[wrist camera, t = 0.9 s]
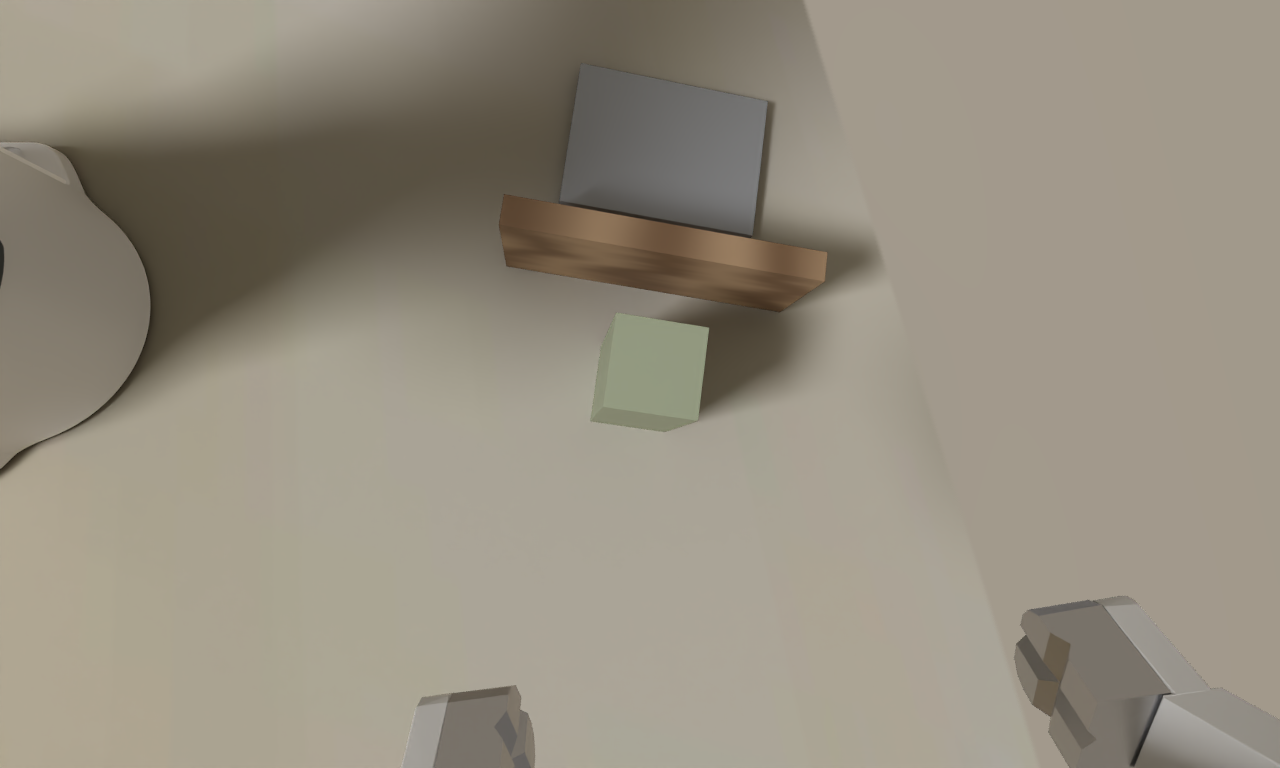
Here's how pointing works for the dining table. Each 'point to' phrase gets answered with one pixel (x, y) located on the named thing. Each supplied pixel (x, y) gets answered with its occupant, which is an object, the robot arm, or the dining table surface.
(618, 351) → the olive letter block
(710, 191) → the display mat
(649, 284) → the walnut screen
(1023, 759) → the dining table surface
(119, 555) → the dining table surface
